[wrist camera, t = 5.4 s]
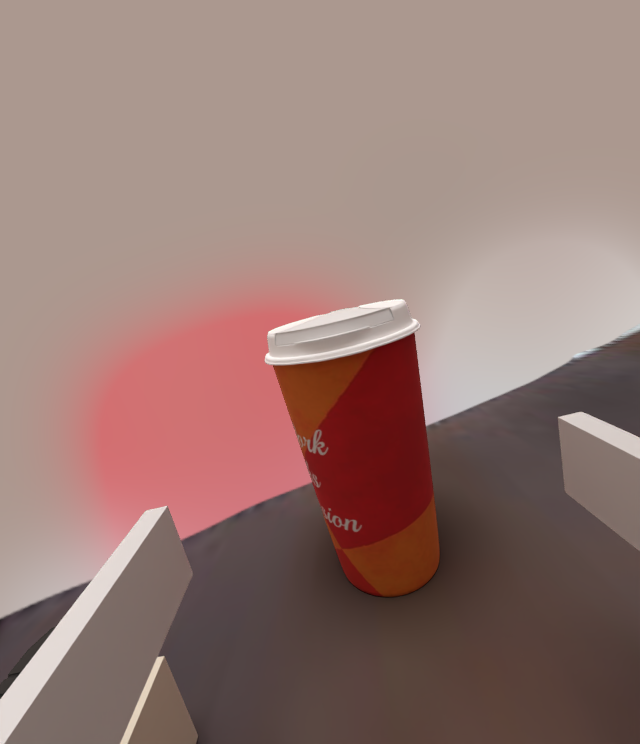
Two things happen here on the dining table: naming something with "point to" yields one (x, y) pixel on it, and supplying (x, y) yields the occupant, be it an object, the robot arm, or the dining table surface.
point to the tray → (160, 712)
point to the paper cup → (364, 439)
